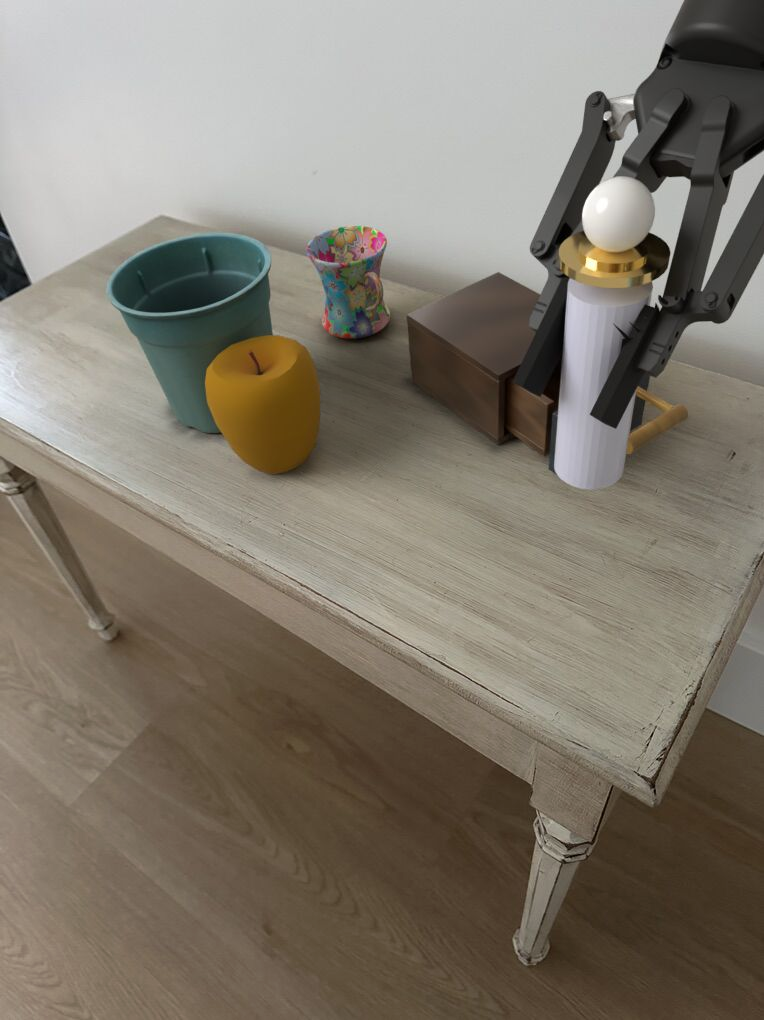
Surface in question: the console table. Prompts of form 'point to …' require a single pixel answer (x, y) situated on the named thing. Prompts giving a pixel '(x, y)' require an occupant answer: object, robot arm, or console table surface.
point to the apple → (266, 401)
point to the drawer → (539, 415)
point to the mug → (351, 280)
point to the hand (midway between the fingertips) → (564, 404)
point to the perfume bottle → (603, 323)
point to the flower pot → (193, 310)
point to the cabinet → (473, 349)
